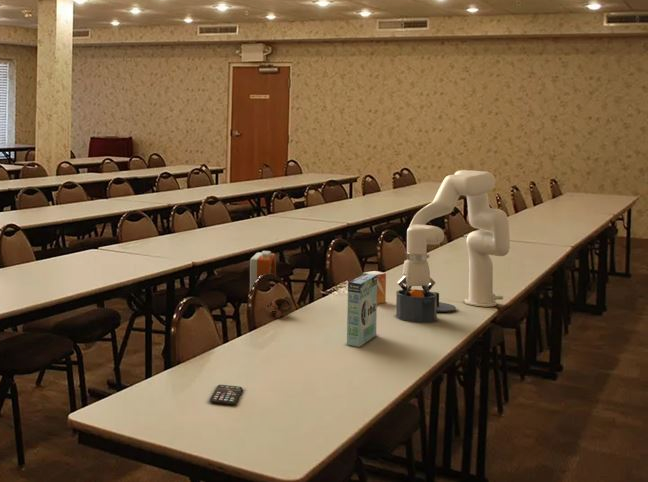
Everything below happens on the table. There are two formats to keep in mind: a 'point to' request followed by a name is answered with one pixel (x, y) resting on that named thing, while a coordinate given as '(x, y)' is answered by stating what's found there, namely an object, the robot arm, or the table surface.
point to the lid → (443, 305)
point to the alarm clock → (262, 265)
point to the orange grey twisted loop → (278, 308)
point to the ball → (416, 293)
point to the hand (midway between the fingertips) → (416, 301)
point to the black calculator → (226, 394)
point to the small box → (380, 286)
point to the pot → (416, 307)
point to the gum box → (361, 309)
